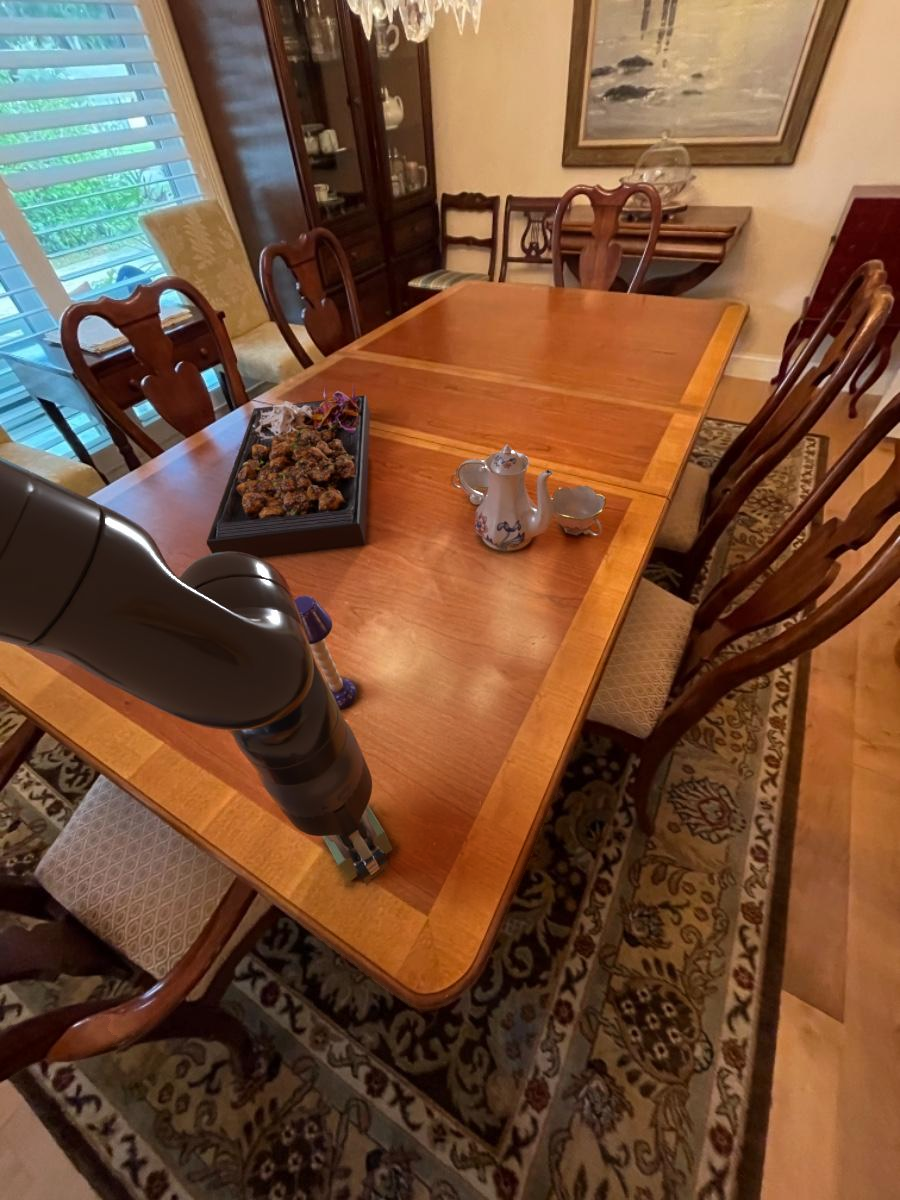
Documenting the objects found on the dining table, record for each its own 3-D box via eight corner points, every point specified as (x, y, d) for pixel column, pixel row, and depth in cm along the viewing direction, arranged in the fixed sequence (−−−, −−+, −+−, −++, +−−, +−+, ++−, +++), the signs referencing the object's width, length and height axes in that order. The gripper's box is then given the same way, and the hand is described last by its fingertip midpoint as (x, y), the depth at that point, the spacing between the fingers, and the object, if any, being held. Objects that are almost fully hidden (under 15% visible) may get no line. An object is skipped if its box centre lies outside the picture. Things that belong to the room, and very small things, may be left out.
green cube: (349, 881, 53) (338, 865, 49) (327, 840, 56) (314, 821, 52) (392, 849, 54) (384, 831, 51) (368, 811, 57) (359, 791, 54)
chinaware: (612, 524, 89) (632, 428, 78) (580, 581, 78) (598, 479, 67) (463, 488, 99) (461, 399, 88) (417, 534, 89) (408, 439, 78)
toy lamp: (313, 703, 67) (270, 615, 55) (332, 674, 70) (295, 584, 58) (346, 713, 66) (309, 626, 54) (364, 684, 69) (333, 594, 57)
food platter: (260, 426, 119) (243, 381, 112) (370, 414, 119) (360, 368, 112) (216, 562, 88) (189, 512, 81) (364, 545, 88) (351, 493, 81)
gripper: (239, 731, 45) (297, 811, 58) (311, 877, 37) (361, 934, 49) (318, 684, 48) (357, 770, 60) (402, 810, 40) (428, 880, 52)
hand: (359, 843), depth 55 cm, fingers closed on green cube, 5 cm apart
